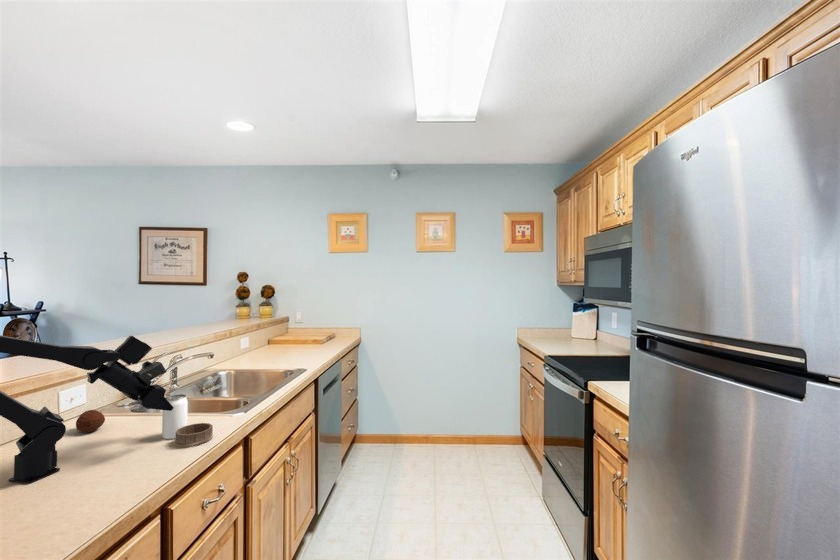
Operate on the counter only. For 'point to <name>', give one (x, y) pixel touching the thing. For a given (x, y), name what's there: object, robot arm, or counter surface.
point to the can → (174, 416)
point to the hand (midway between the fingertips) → (166, 406)
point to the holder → (194, 435)
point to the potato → (90, 421)
